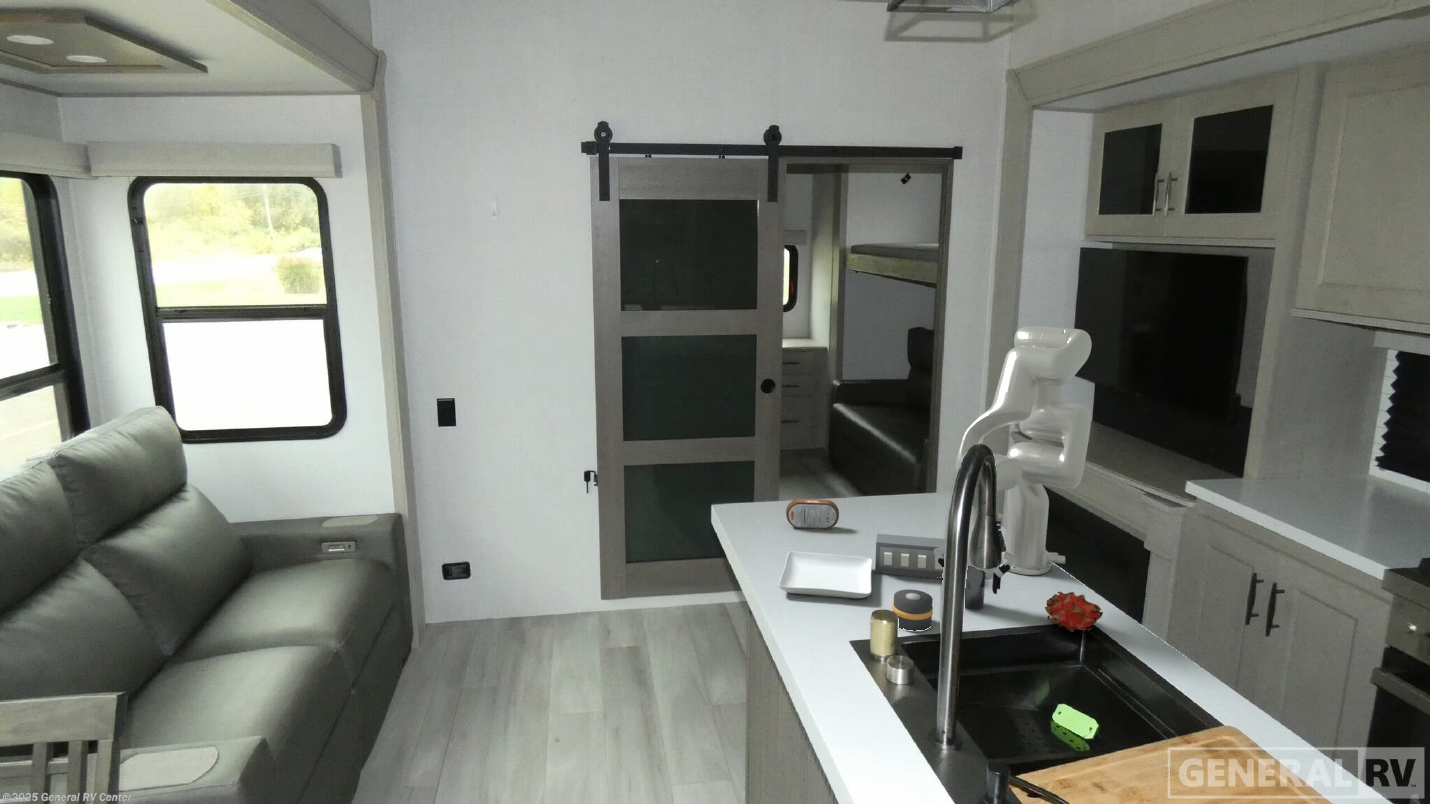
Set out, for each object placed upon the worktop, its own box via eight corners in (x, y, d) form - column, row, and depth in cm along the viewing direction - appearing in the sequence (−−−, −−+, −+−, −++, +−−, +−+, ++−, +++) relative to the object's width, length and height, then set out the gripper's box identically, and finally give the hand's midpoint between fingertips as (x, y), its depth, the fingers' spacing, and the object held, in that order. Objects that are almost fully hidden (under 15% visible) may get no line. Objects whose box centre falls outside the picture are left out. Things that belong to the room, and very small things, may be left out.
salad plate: (871, 606, 181) (871, 592, 180) (777, 598, 185) (777, 584, 184) (872, 569, 201) (872, 556, 200) (787, 563, 205) (787, 550, 204)
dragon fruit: (1037, 630, 172) (1094, 641, 171) (1052, 624, 164) (1112, 635, 163) (1038, 591, 175) (1094, 601, 174) (1052, 583, 167) (1111, 593, 166)
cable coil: (931, 616, 175) (933, 589, 174) (932, 634, 167) (933, 606, 166) (892, 612, 177) (893, 586, 176) (891, 630, 169) (892, 602, 168)
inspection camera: (982, 600, 182) (985, 559, 180) (984, 611, 177) (987, 568, 175) (959, 598, 184) (961, 557, 182) (960, 608, 179) (963, 566, 177)
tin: (838, 527, 230) (839, 498, 228) (839, 530, 227) (839, 502, 225) (785, 525, 231) (786, 497, 230) (785, 529, 228) (786, 501, 226)
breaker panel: (949, 570, 199) (951, 539, 198) (951, 582, 192) (953, 551, 190) (876, 563, 204) (877, 533, 202) (874, 575, 196) (875, 544, 195)
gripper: (1016, 514, 178) (1010, 586, 181) (935, 507, 182) (931, 578, 185) (1020, 525, 170) (1014, 600, 174) (936, 518, 174) (932, 591, 178)
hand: (971, 589), depth 179 cm, fingers open, 9 cm apart
